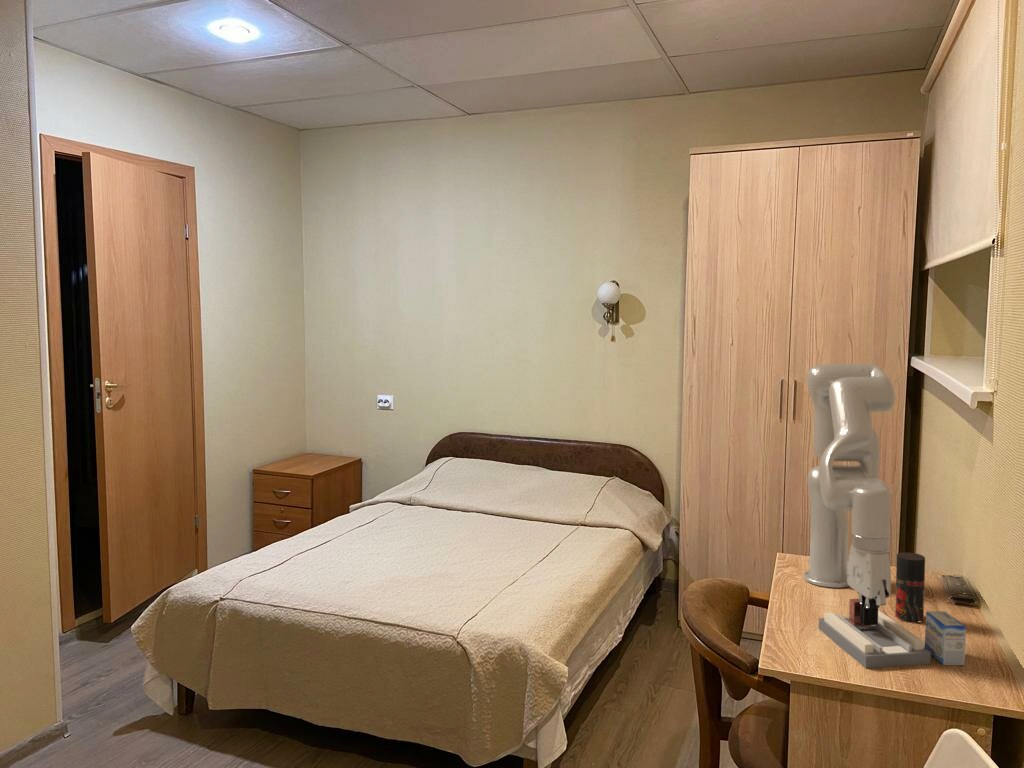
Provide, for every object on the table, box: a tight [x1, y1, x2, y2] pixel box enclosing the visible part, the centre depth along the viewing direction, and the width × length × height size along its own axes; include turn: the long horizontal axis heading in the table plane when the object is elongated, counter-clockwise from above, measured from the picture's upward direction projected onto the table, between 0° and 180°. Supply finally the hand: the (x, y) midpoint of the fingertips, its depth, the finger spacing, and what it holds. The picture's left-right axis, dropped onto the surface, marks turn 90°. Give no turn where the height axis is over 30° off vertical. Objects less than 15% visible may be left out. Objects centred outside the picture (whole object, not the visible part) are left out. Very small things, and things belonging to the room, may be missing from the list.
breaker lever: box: [844, 598, 877, 629], centre depth 173 cm, size 5×5×6 cm
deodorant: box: [894, 551, 926, 623], centre depth 182 cm, size 6×6×15 cm
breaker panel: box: [818, 609, 932, 669], centre depth 168 cm, size 20×14×4 cm
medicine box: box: [924, 610, 967, 666], centre depth 162 cm, size 8×4×9 cm, turn 178°
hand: (868, 623), depth 169 cm, fingers closed
